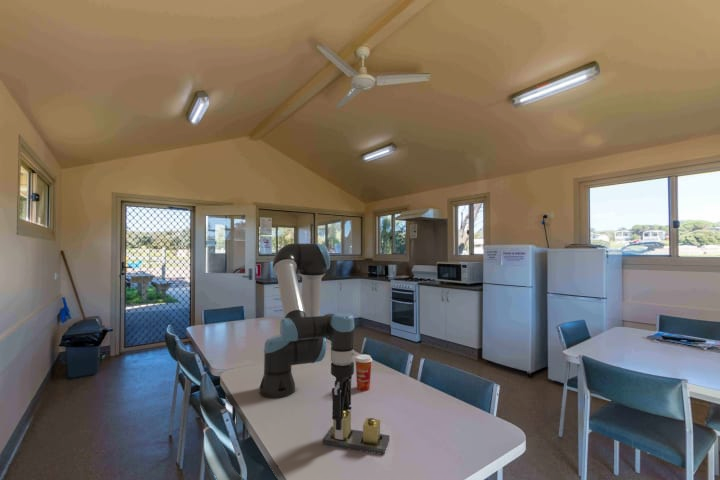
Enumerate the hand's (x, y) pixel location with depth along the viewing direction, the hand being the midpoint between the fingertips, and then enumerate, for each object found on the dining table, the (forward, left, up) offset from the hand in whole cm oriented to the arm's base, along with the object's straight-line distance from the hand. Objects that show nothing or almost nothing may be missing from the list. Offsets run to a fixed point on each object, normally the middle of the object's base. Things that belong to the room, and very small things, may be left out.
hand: (341, 434), depth 110 cm
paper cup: (-4, +41, -2) cm, 42 cm away
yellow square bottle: (0, 0, 0) cm, 0 cm away
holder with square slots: (+5, 0, -2) cm, 5 cm away
